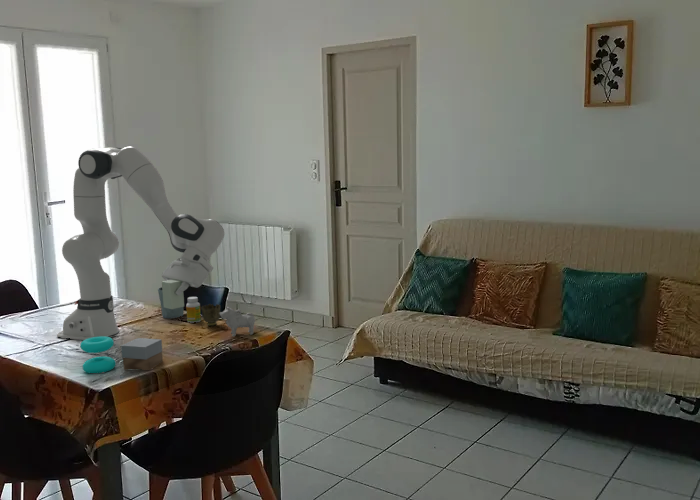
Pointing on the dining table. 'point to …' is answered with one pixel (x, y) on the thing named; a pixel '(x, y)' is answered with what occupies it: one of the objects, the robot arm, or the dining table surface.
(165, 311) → the grey-blue plant pot
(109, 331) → the robot arm
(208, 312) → the cup
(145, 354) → the tower top slab
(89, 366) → the donuts
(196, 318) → the supplement bottle
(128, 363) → the tower bottom slab
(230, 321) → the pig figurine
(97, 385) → the dining table surface
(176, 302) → the sage block
